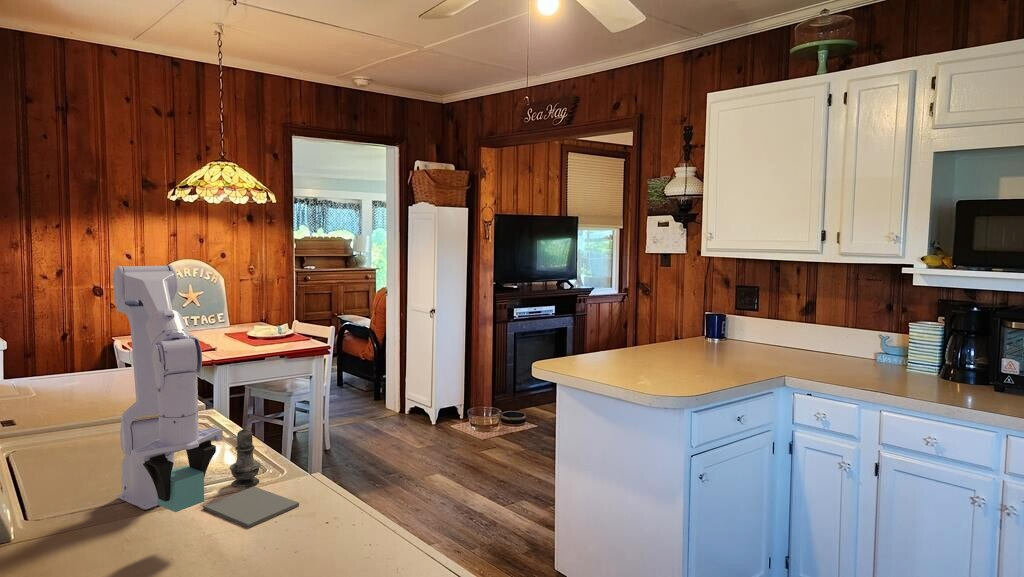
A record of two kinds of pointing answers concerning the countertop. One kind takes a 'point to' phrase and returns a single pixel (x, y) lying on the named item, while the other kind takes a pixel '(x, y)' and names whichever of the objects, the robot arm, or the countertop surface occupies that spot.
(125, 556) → the countertop surface
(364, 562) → the countertop surface
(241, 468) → the dark grey chess piece
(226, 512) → the charcoal mat
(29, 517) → the countertop surface
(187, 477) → the teal cube
